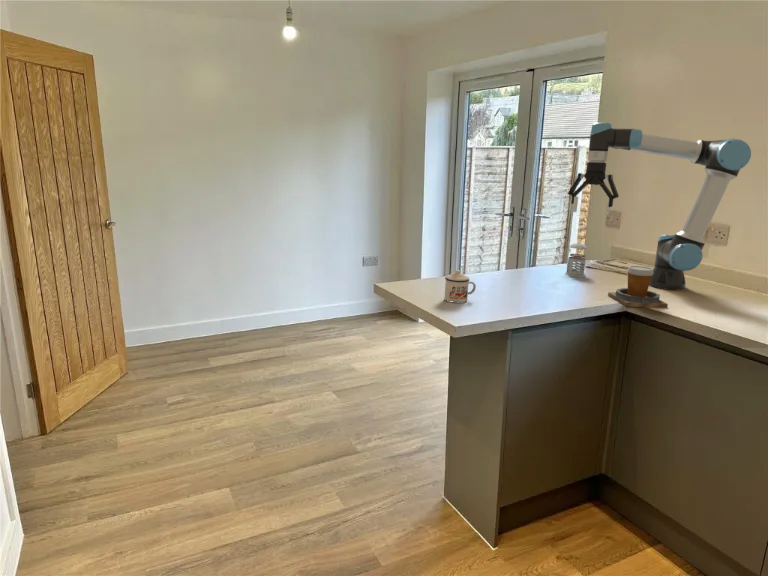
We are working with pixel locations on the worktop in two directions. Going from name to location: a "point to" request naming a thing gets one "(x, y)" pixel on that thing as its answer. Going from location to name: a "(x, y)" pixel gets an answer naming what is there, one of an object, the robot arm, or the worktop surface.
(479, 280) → the worktop surface
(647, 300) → the docking plate
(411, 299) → the worktop surface
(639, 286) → the disposable coffee cup
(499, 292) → the worktop surface
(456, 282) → the teacup with lid
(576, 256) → the french press
